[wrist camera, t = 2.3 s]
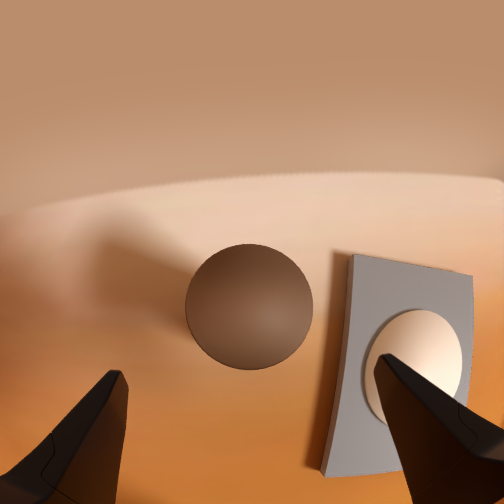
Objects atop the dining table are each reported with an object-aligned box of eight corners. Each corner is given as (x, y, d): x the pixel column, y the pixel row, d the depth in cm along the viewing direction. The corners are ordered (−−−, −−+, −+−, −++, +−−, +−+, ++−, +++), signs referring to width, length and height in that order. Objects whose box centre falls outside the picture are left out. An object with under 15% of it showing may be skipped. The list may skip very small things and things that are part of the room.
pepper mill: (270, 365, 19) (306, 377, 9) (203, 354, 19) (173, 357, 9) (280, 300, 20) (319, 253, 11) (214, 289, 20) (198, 233, 11)
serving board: (447, 455, 16) (457, 459, 15) (319, 471, 16) (325, 478, 15) (464, 279, 22) (474, 274, 20) (348, 259, 22) (355, 252, 20)
